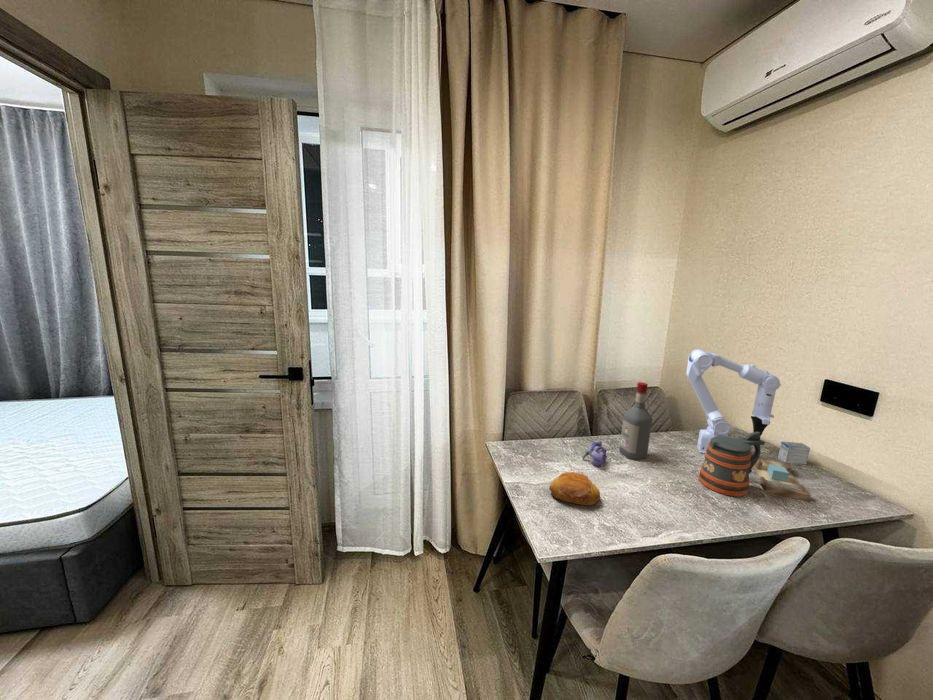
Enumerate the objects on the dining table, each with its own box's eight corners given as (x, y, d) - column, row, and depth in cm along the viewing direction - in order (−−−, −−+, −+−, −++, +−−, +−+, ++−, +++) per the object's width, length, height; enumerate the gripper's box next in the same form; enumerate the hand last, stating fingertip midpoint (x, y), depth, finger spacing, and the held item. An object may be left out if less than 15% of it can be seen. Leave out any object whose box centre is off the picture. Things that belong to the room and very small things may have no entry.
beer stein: (732, 472, 145) (741, 422, 141) (769, 494, 131) (781, 439, 127) (688, 475, 141) (697, 424, 137) (722, 498, 127) (733, 442, 123)
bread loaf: (595, 518, 118) (602, 496, 116) (545, 500, 123) (551, 478, 120) (598, 493, 131) (604, 473, 129) (552, 477, 136) (558, 457, 134)
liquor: (630, 461, 150) (640, 387, 144) (616, 450, 159) (624, 380, 153) (650, 459, 153) (660, 386, 146) (635, 448, 161) (644, 380, 155)
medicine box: (797, 462, 155) (802, 442, 153) (806, 468, 150) (810, 447, 148) (776, 461, 155) (781, 441, 154) (784, 466, 151) (789, 446, 149)
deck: (765, 492, 132) (767, 480, 131) (745, 459, 155) (747, 449, 154) (809, 501, 127) (812, 489, 126) (782, 466, 151) (784, 456, 150)
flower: (577, 447, 146) (603, 439, 143) (578, 447, 153) (602, 439, 151) (586, 472, 143) (613, 463, 140) (587, 470, 150) (612, 463, 148)
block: (771, 479, 138) (773, 470, 137) (767, 472, 142) (769, 464, 142) (786, 482, 136) (789, 473, 135) (782, 475, 141) (784, 466, 140)
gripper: (782, 410, 144) (774, 444, 147) (770, 399, 157) (763, 430, 160) (759, 407, 147) (752, 440, 150) (749, 396, 160) (743, 427, 163)
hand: (757, 435), depth 155 cm, fingers closed
